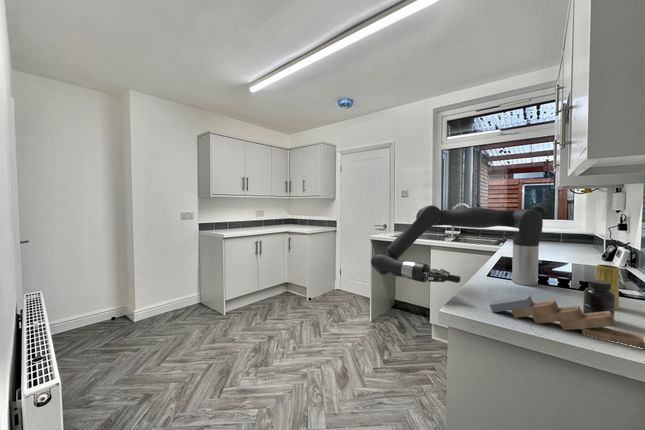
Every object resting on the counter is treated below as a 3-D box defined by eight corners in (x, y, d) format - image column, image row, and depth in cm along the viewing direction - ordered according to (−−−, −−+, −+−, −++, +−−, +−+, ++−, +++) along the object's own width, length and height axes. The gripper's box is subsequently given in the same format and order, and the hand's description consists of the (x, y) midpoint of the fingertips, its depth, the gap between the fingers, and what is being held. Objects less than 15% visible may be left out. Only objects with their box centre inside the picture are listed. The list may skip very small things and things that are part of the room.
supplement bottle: (577, 316, 86) (579, 279, 85) (590, 313, 88) (591, 277, 87) (606, 326, 79) (608, 286, 79) (619, 322, 82) (621, 283, 81)
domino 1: (494, 301, 93) (529, 295, 86) (497, 308, 93) (533, 303, 85) (489, 305, 90) (526, 299, 82) (492, 312, 89) (530, 307, 82)
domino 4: (560, 316, 81) (609, 310, 74) (564, 324, 80) (614, 319, 73) (559, 321, 77) (610, 316, 70) (563, 330, 77) (616, 325, 70)
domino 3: (534, 310, 85) (578, 305, 78) (538, 318, 85) (583, 313, 77) (531, 315, 82) (577, 310, 74) (535, 323, 81) (582, 319, 74)
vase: (621, 311, 89) (623, 269, 88) (595, 307, 93) (597, 266, 92) (616, 305, 94) (618, 265, 93) (591, 302, 98) (593, 263, 97)
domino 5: (583, 322, 78) (642, 335, 70) (582, 330, 78) (641, 344, 70) (582, 328, 74) (644, 343, 66) (582, 336, 74) (644, 352, 66)
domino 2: (514, 305, 89) (554, 299, 82) (518, 313, 88) (558, 307, 81) (511, 310, 86) (552, 304, 78) (514, 317, 85) (556, 312, 78)
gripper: (407, 264, 106) (453, 273, 94) (422, 259, 116) (466, 266, 103) (407, 283, 107) (452, 294, 94) (422, 276, 116) (465, 285, 104)
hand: (459, 279), depth 99 cm, fingers closed
